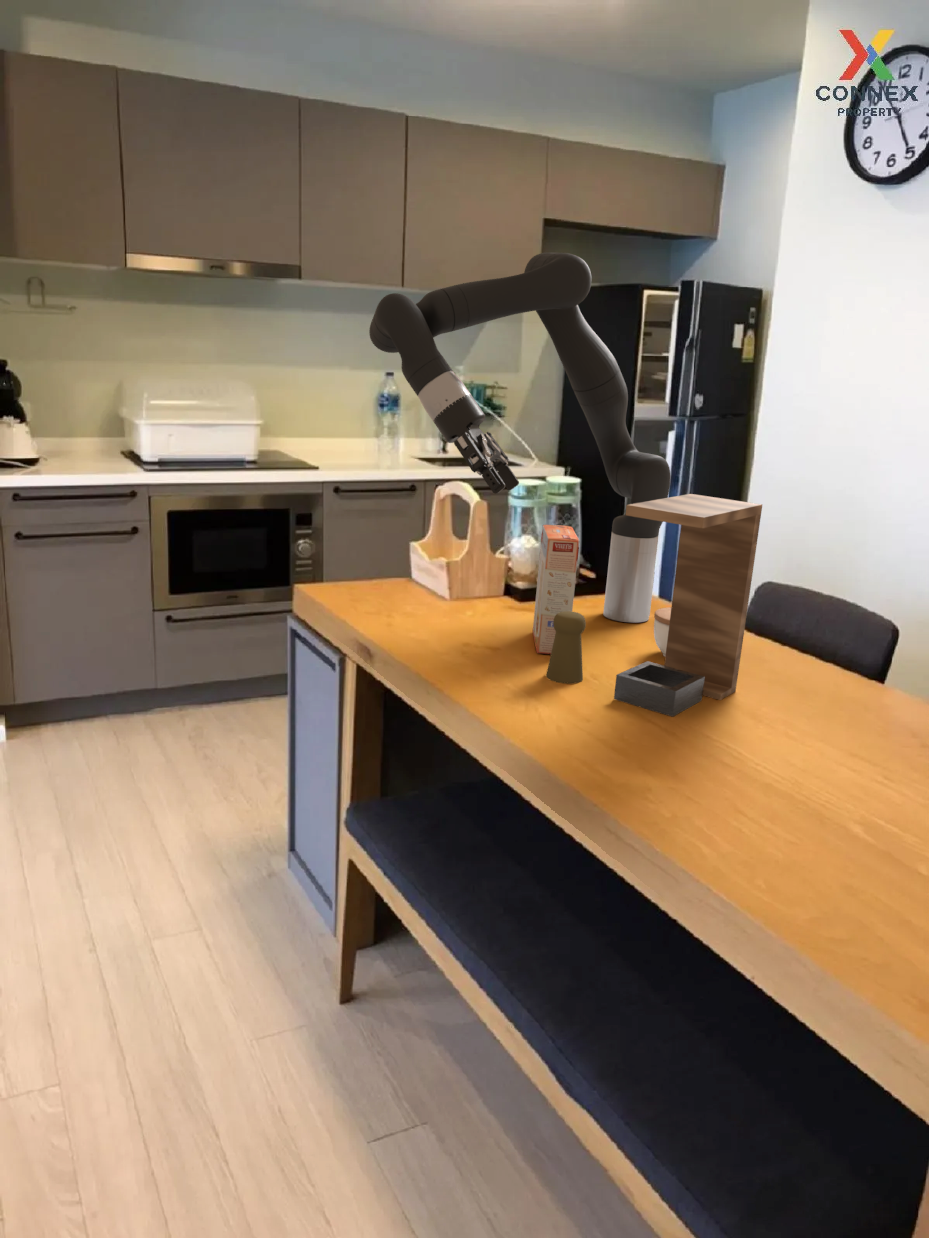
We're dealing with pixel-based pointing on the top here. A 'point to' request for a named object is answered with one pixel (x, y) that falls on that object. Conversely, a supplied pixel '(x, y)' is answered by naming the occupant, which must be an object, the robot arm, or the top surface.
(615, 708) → the top surface
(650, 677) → the socket
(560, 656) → the cork
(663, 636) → the lidded jar
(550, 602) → the cracker box
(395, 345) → the robot arm
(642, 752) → the top surface
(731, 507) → the shelf
